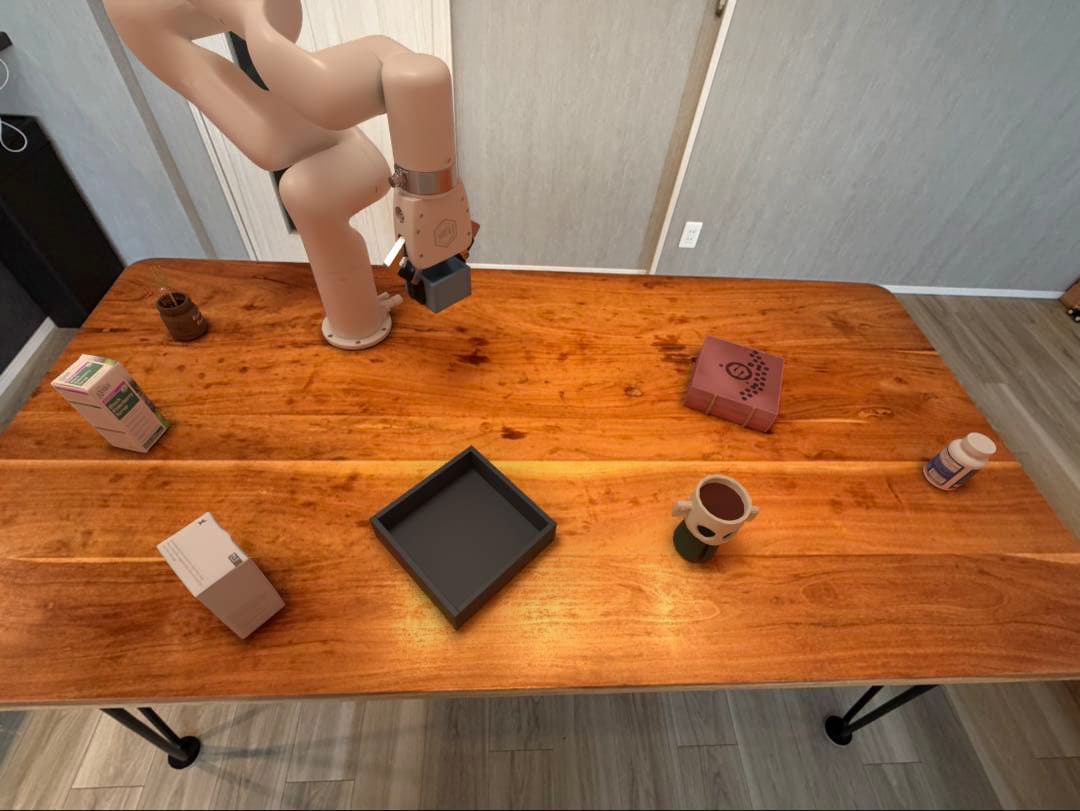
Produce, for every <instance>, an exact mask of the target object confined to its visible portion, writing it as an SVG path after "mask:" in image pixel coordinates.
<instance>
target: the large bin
mask: <svg viewBox="0 0 1080 811" xmlns="http://www.w3.org/2000/svg"><path fill="white" fill-rule="evenodd" d="M368 520H369V522H370V524H371V527H372V530H373V532H374V535H375V537H376V538H377V540H378V541H379V542H380V543H381V544H382V545H383V547H384V548H385V549H386V550H387V552H389V554H390V555H391V556H392V557H393V558H394V559H395V560H396V562H397V563H398V564H399V565H400V567H402V569H403V570H404V571H405V572H406V573H407V574H408V576H409V577H410V578H411V579H412V580H413V582H414V583H415V584H416V585H417V587H419V588H420V590H421V591H422V592H423V593H424V594H425V596H427V598H428V599H429V600H430V602H432V604H433V605H434V606H435V607H436V608H437V609H438V610H439V613H441V614H442V615H443V617H444V618H445V619H446V620H447V621H448V622H449V623H450V625H451V626H452V628H454V629H455V630H456V631H459V630H460V629H461V628H462V627H463V626H464V625H465V624H466V623H468V621H469V620H470V619H472V618H473V617H474V616H475V615H476V614H477V613H478V612H479V611H481V609H483V608H484V606H486V604H487V603H488V602H490V601H492V599H493V598H494V597H495V596H496V595H497V594H499V592H500V591H501V590H503V589H504V588H505V587H506V586H507V585H508V584H509V583H511V581H513V579H514V578H516V577H517V576H518V575H519V574H520V573H521V572H522V571H523V570H524V569H525V568H526V567H527V566H528V565H529V564H530V563H531V562H533V561H534V560H535V559H536V558H537V557H538V556H539V555H540V554H541V553H542V552H544V550H545V549H547V548H548V546H550V545H551V544H552V543H553V542H554V541H555V537H556V531H557V527H558V523H557V522H556V521H555V520H554V519H553V518H552V517H551V516H550V515H548V513H546V512H545V511H544V510H543V509H542V508H541V507H540V506H539V505H537V504H536V503H535V501H533V500H532V499H531V497H529V496H528V495H527V494H526V493H525V492H524V491H523V490H521V489H520V487H518V486H517V485H516V484H515V483H514V482H513V481H512V480H511V479H509V477H507V476H506V475H505V474H504V473H503V472H502V471H501V470H499V468H497V466H495V465H494V464H493V463H492V462H491V461H490V460H489V459H487V458H486V456H484V455H483V453H481V452H480V451H479V450H478V449H477V448H476V447H474V446H473V445H472V444H470V445H469V446H468V447H467V448H465V449H464V450H462V451H461V452H459V453H458V454H457V455H455V456H454V457H452V458H451V459H450V460H448V461H447V462H446V463H444V464H443V465H441V466H440V467H439V468H438V469H436V470H434V471H433V472H432V473H430V474H429V475H427V476H426V477H425V478H424V479H422V480H421V481H419V482H417V484H415V485H414V486H412V487H411V488H409V489H408V490H407V491H405V492H404V493H403V494H401V495H400V496H398V497H397V498H396V499H394V500H393V501H392V502H390V503H389V504H387V505H386V506H385V507H383V508H382V509H380V510H379V511H378V512H376V513H375V514H374V515H372V516H370V517H369V518H368Z"/></svg>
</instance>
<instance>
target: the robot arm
mask: <svg viewBox="0 0 1080 811" xmlns="http://www.w3.org/2000/svg"><path fill="white" fill-rule="evenodd" d="M102 3H103V8H104V10H105V12H106V15H107V17H108V19H109V21H110V23H111V25H112V26H113V28H114V30H115V31H116V33H117V34H118V36H119V37H120V39H121V41H122V42H123V43H124V45H125V46H126V47H127V48H128V50H129V51H130V52H131V53H132V55H133V56H134V57H135V58H136V59H137V60H138V61H139V62H140V63H141V64H142V65H143V66H144V67H145V69H147V70H148V71H149V72H150V73H151V74H153V75H154V76H155V77H156V78H157V79H158V80H160V81H161V82H162V83H163V84H165V85H167V87H169V88H171V90H173V91H175V92H176V93H177V94H179V95H180V96H182V97H183V98H184V99H186V100H187V101H188V102H190V103H191V104H192V105H193V106H194V107H196V108H197V109H198V111H200V112H201V113H202V114H203V115H204V116H205V118H207V119H208V121H209V122H210V123H211V124H213V125H214V127H216V129H218V130H219V131H220V132H221V133H222V134H223V135H224V136H225V137H226V138H227V139H228V140H229V142H231V143H232V145H234V146H235V147H236V148H237V150H239V151H240V152H241V153H242V154H243V155H244V156H245V157H246V158H247V159H248V160H249V161H250V162H252V163H253V165H255V166H257V167H258V168H260V169H261V170H263V171H266V172H277V171H281V170H284V169H287V170H285V172H284V173H283V174H282V176H281V178H280V179H279V184H278V192H279V197H280V199H281V202H282V204H283V206H284V208H285V210H286V212H287V214H288V215H289V217H290V219H291V221H292V222H293V224H294V227H295V228H296V231H297V232H298V235H299V237H300V240H301V242H302V245H303V247H304V251H305V253H306V257H307V259H308V263H309V265H310V269H311V270H312V271H311V272H312V274H313V277H314V281H315V284H316V287H317V290H318V293H319V296H320V299H321V302H322V305H323V309H324V312H325V315H326V316H325V317H324V319H323V320H322V324H321V332H322V335H323V337H324V339H325V340H326V342H328V343H329V344H330V345H332V346H333V347H336V348H339V349H343V350H350V351H351V350H363V349H367V348H370V347H373V346H375V345H377V344H380V342H382V341H383V340H385V339H386V338H387V336H388V335H389V334H390V332H391V330H392V325H393V323H392V318H391V315H390V312H391V309H393V308H396V307H398V306H400V305H402V304H404V299H403V296H401V295H400V294H399V293H397V294H395V295H393V296H391V297H390V294H389V293H388V291H384V292H383V293H380V294H379V295H378V291H377V288H376V281H375V278H374V273H373V268H372V264H371V260H370V258H371V257H370V253H369V251H368V250H369V249H368V246H367V242H366V240H365V238H364V236H363V235H362V233H360V232H359V231H358V230H357V229H356V228H354V227H353V226H351V224H350V220H351V218H353V217H354V216H356V215H357V214H359V213H360V212H361V211H363V210H364V209H366V208H368V207H370V206H371V205H373V204H375V203H377V202H379V201H380V200H382V199H383V198H384V197H385V196H386V195H388V193H389V192H390V191H391V188H393V196H392V197H393V198H392V199H393V200H392V211H393V212H392V215H393V216H392V217H393V218H392V219H393V230H394V231H393V232H394V239H395V244H394V246H392V248H391V250H390V251H389V253H388V254H387V256H386V258H385V259H384V261H383V263H382V265H383V267H384V268H386V269H387V271H389V272H391V273H393V274H395V275H396V276H398V277H400V278H401V279H403V280H404V279H405V280H406V283H407V289H408V293H407V294H408V296H409V298H410V299H412V300H413V301H415V302H417V303H418V304H420V305H421V306H424V304H426V296H425V289H424V283H423V281H421V280H420V278H421V275H422V272H423V269H426V268H429V267H431V266H433V265H435V264H437V263H439V262H441V261H444V260H446V259H448V258H450V257H452V256H455V257H457V258H458V259H459V260H461V261H462V262H464V263H465V264H467V260H468V259H469V257H470V250H471V248H472V246H473V245H474V243H475V238H476V237H477V235H478V232H479V230H480V228H481V225H480V224H479V223H478V222H476V221H474V220H473V219H472V217H471V210H470V205H469V198H468V195H467V191H466V187H465V184H464V180H463V178H462V177H461V176H459V175H458V166H457V165H458V164H457V147H456V130H455V127H456V126H455V113H454V95H453V93H454V92H453V81H452V74H451V70H450V68H449V66H448V65H447V63H446V62H445V61H444V60H443V59H441V58H440V57H438V56H435V55H433V54H428V53H422V52H415V51H414V50H412V49H411V48H408V47H407V46H405V45H404V44H402V43H400V42H399V41H398V40H396V39H394V38H392V37H390V36H387V35H384V34H371V35H367V36H363V37H361V38H357V39H354V40H348V41H346V42H342V43H339V44H336V45H332V46H328V47H325V48H322V49H319V50H316V51H308V50H306V49H304V48H302V47H301V46H299V45H298V44H297V41H298V40H299V37H300V35H301V32H302V27H303V23H304V22H303V21H304V20H303V19H304V12H303V6H302V5H303V4H302V1H301V0H102ZM227 32H231V33H233V34H234V35H236V36H238V37H239V38H240V39H242V40H243V41H245V42H246V43H245V44H246V47H247V51H248V55H249V57H250V60H251V62H252V64H253V67H254V68H255V71H256V72H257V74H258V75H259V77H260V79H261V81H263V83H264V85H265V87H266V88H267V89H268V90H266V89H264V88H262V87H260V86H259V85H258V84H257V83H256V82H254V81H253V80H252V79H251V78H250V76H248V75H247V73H245V71H244V70H243V69H241V67H239V66H238V65H237V64H235V63H234V62H232V61H231V60H230V59H228V58H227V57H225V56H223V55H222V54H219V53H217V52H215V51H213V50H211V49H208V48H206V47H204V46H201V45H198V44H197V43H195V42H194V41H195V40H199V39H204V38H208V37H212V36H215V35H220V34H224V33H227ZM382 115H386V118H387V123H388V124H387V125H388V130H389V131H388V132H389V138H390V143H391V152H392V158H393V163H394V164H393V171H394V173H392V170H391V167H390V165H389V162H388V161H387V159H386V157H385V155H384V154H383V153H382V152H381V150H380V149H379V147H378V146H377V145H376V144H375V143H374V142H373V141H372V140H371V139H370V138H369V136H368V135H367V134H366V133H365V132H363V130H362V129H361V128H360V127H359V126H358V125H360V124H363V123H364V122H367V121H370V120H371V119H374V118H376V117H378V116H382ZM403 258H404V259H403ZM402 260H403V263H402V264H403V267H402V265H400V263H401V262H402ZM412 265H413V266H414V270H413V272H412V271H411V269H412Z"/></svg>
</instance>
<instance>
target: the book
mask: <svg viewBox="0 0 1080 811" xmlns="http://www.w3.org/2000/svg"><path fill="white" fill-rule="evenodd" d="M785 361H786V360H785V357H781V356H778V355H775V354H771V353H769V352H764V351H763V350H762V351H761V350H759V349H756V348H752V347H749V346H746V345H742V344H739V343H735V342H733V341H729V340H726V339H722V338H719V337H716V336H714V335H713V336H712V335H710V334H706V335H705V337H704V340H703V344H702V347H701V351H700V350H699V351H698V354H697V357H696V360H695V364H694V366H693V371H692V375H691V378H690V382H689V385H688V388H687V391H686V395H685V398H684V402H683V406H685V407H688V408H691V409H694V410H697V411H700V412H702V413H704V414H705V415H706V416H708V415H711V416H714V417H718V418H721V419H723V420H726V421H729V422H731V423H734V424H735V423H736V424H739V425H741V427H742V428H745V427H748V428H751V429H754V430H756V431H758V432H759V431H760V432H762V433H767V431H769V429H770V428H771V426H772V425H773V424H774V422H775V420H776V419H777V416H778V414H779V407H780V406H779V405H780V400H781V399H780V398H781V392H782V384H783V376H784V368H785Z"/></svg>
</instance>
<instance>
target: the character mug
mask: <svg viewBox="0 0 1080 811" xmlns="http://www.w3.org/2000/svg"><path fill="white" fill-rule="evenodd" d="M760 510H761V508H760V507H759V506H758V505H753V504H752V497H751V496H750V494H749V492H748V490H747V489H746V488H745V487H744V486H743V485H742V484H741V483H740V482H739V481H737V480H736V479H735V478H732V477H730V476H727V475H724V474H720V473H719V474H717V473H716V474H708V475H707V476H705V477H703V478H702V479H700V480H699V482H698V483H697V485H696V487H695V488H694V490H693V492H692V493H691V495H690V496H689V499H688V500H677V501H676V502H675V504H674V505H673V507H672V509H671V515H672V517H674V518H683V519H682V520H681V521H680V523H679V524H678V525H677V526H676V527H675V528H674V530H673V535H672V536H673V537H672V541H673V544H674V547H675V550H676V551H677V552H678V553H679V554H680V556H681V558H684V559H686V560H688V561H690V562H691V563H696V561H697V559H698V558H699V559H701V558H702V559H701V562H700V563H701V564H702V563H703V564H704V563H706V562H708V561H710V560H712V559H713V557H714V556H715V554H716V553H717V551H718V549H719V548H720V546H721V545H723V544H725V543H727V542H729V541H731V540H732V539H733V538H734V537H735V536H736V535H737V534H738V532H739V531H740V530H741V528H742V527H744V525H745V523H748V522H749V523H750V522H752V521H754V520H755V518H756V517H757V516H758V515H759V514H760Z"/></svg>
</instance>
